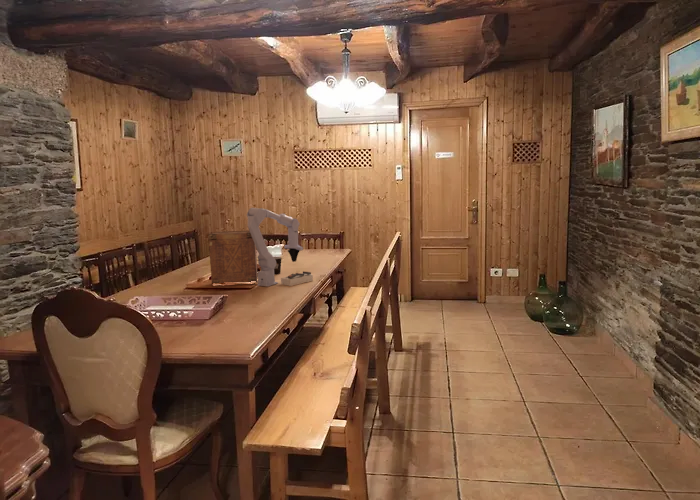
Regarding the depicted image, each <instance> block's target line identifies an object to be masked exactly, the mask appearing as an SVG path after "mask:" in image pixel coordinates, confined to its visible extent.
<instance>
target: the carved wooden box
mask: <svg viewBox="0 0 700 500" xmlns="http://www.w3.org/2000/svg"><path fill="white" fill-rule="evenodd" d="M207 236H208V250H209V262H210V265H209V266H210V275H211V276H210V277H211V280H210V281H211V284H212V283H224V282H251V281H256V282H257V283H258V281H257V278H258V262H257V261H258V256H257V248H256V246H255V243H254V241H253V238H252V236H251V233H250V231H249V230H234V231H233V230H231V231H230V230H229V231H226V230H225V231H211V232H210V233H208V235H207Z"/></svg>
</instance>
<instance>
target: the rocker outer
mask: <svg viewBox="0 0 700 500" xmlns="http://www.w3.org/2000/svg"><path fill="white" fill-rule="evenodd" d="M302 273H303V274H311V275H312V272H311V271H304V270H303V271H302Z"/></svg>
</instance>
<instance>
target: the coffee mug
mask: <svg viewBox="0 0 700 500" xmlns="http://www.w3.org/2000/svg"><path fill="white" fill-rule="evenodd" d="M273 258H274V259H275V260H276V266H275V269H274V276H275V275H276V276H277V275H280V274H281V271H282V257H281V256H273Z"/></svg>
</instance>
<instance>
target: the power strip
mask: <svg viewBox="0 0 700 500" xmlns="http://www.w3.org/2000/svg"><path fill="white" fill-rule="evenodd" d="M301 273H302V274H303V272H301ZM280 280H281V281H280V282H281V283H280V284H281V285H284V286H289V287H291V286H292V287H293V286H296V285H301V284H304V283H309V282H313V281H314V275H313V274H312V273H311V274H304V276H298V275H296V277H294V278H292V279H290V278H288V276H285V277H284V276H283V277H281V278H280Z"/></svg>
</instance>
